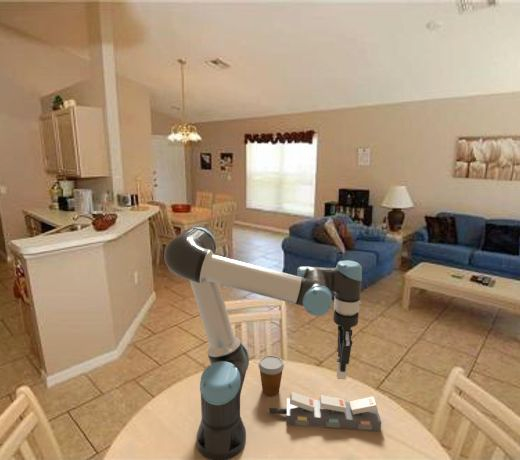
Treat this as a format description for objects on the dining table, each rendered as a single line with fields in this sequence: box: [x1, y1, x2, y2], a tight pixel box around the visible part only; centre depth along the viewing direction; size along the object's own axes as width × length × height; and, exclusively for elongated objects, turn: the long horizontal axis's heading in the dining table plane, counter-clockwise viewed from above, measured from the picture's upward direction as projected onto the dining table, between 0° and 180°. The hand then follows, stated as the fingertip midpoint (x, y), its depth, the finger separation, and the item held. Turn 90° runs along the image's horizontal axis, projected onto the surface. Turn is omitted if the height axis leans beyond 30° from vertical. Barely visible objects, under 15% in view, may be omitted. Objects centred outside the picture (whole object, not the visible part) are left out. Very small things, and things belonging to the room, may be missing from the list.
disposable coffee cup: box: [257, 354, 285, 397], centre depth 127 cm, size 10×10×12 cm
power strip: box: [268, 397, 382, 432], centre depth 114 cm, size 36×8×5 cm, turn 85°
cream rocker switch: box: [349, 396, 378, 415], centre depth 113 cm, size 8×4×2 cm, turn 85°
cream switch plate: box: [318, 394, 346, 412], centre depth 113 cm, size 8×4×2 cm, turn 85°
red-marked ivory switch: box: [289, 391, 315, 412], centre depth 114 cm, size 8×4×2 cm, turn 86°
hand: (341, 377), depth 111 cm, fingers closed
